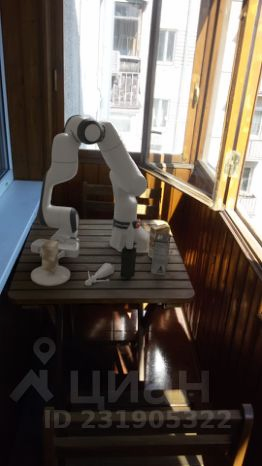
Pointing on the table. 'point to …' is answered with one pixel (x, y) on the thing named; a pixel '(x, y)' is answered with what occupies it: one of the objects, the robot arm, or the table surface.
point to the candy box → (153, 231)
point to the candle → (128, 255)
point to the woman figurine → (100, 274)
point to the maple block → (49, 256)
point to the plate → (50, 276)
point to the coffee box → (160, 253)
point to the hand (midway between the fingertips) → (49, 256)
